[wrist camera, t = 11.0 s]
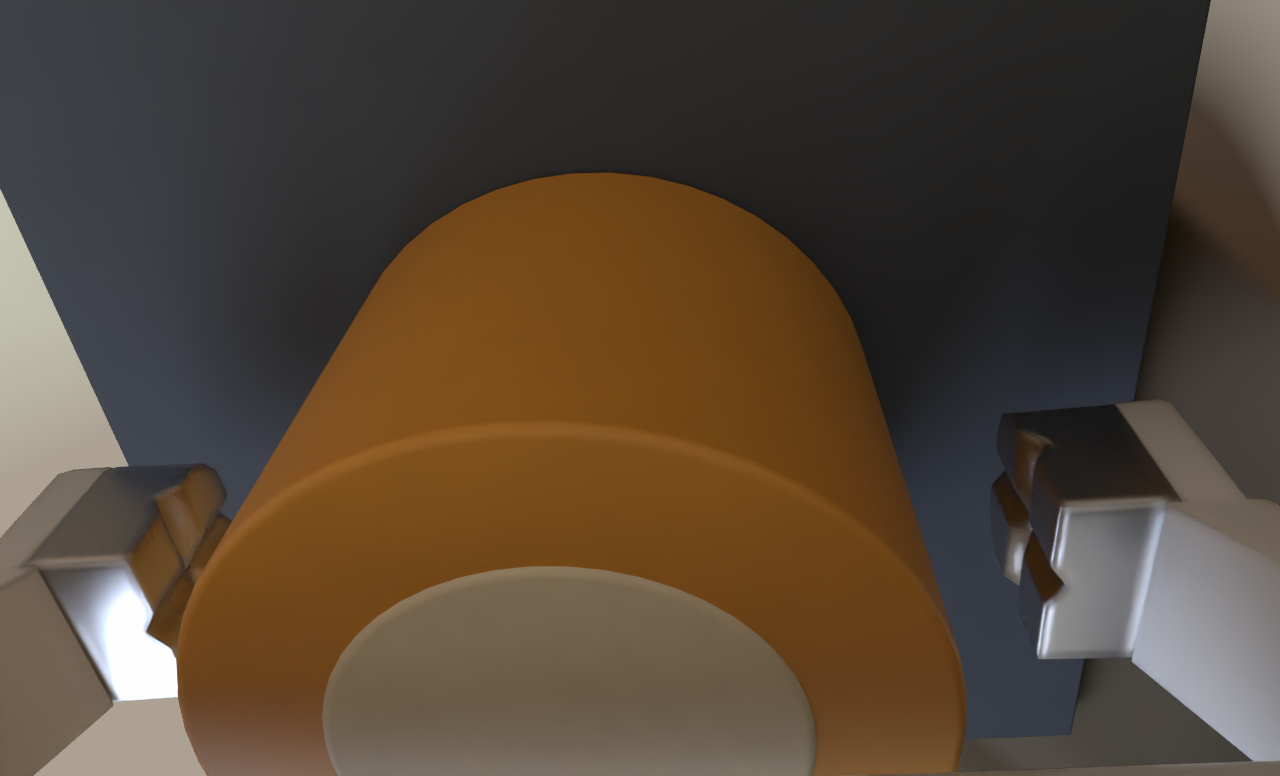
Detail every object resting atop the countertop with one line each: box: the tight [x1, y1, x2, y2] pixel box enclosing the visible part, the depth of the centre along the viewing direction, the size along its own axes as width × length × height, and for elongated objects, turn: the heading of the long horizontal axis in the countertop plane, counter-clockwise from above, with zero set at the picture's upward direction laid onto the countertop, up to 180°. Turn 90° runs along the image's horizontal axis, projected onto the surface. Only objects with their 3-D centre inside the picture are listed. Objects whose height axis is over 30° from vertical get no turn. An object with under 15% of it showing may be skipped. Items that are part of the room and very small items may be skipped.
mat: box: [0, 0, 1211, 739], centre depth 12 cm, size 12×12×1 cm
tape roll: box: [176, 173, 967, 776], centre depth 9 cm, size 6×6×5 cm
